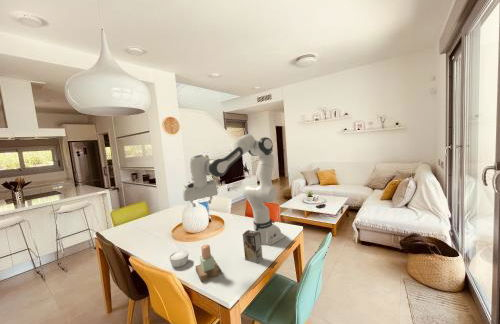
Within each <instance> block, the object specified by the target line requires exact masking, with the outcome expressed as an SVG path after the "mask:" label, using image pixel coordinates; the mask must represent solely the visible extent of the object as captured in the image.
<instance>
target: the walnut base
mask: <svg viewBox="0 0 500 324" xmlns="http://www.w3.org/2000/svg"><path fill="white" fill-rule="evenodd" d="M214 265H215V268H214V269H211V270H209V271H206V272H204V271H203V269H202V267H201V263H199V264H198V265H195V272H196V274H197V277H198V278H199V280H200V283H202V282H206V281H207V280H209V279H212V278H215V277H218V276H220V275H222V271H221V270H222V269H221V267H220V266H219V264H218V263H217V262H216V260H215V259H214Z"/></svg>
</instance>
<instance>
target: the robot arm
mask: <svg viewBox="0 0 500 324" xmlns="http://www.w3.org/2000/svg"><path fill="white" fill-rule="evenodd" d="M273 145H274V144H273V141H272V140H271V138H269V137H266V136H265V137H261V138H258V139H256V138H255V137H254V135H252V134H250V133H249V134H248V133H247V134H244V135H243V136H240V137H238V138H236V139H235V140H234V141H232V143H231V144H230V145H229V151H230V152H228V153H227V154H226V155H225V156H224V157H223V158H219V159H218V158H217V159H215V158H214V159H212V158H209V157H206V156H204V155H203V154H199V155H194V156H192V157H191V158H190V161H189V169H190V173H191V180H189V181H187V182H185V183H184V184H183V187H184V189H183V192H182V198H183V201H184V202H190V203H191V204H192V207H193V208H196V206H197V204H196V203H194V200H198V199H204V198H209V199H208V200H207V204H212V200H213V197H214V196H218V193H219V192H218V187H217V186H218V182H217V181H216V180H215V179H213V180H209V181H208V178H207V177H208V176H207V175H210V176H214V177H217V178H219V177H220V178H221V177H223V176H224V175H225V174H226V173H227V172H228V171H229V169H230V167H231V166H233V164H235V162H237V161H238V160H239V159H240V158H241V157H243V156H244V155H245V154H246V153H248V154H249V155H250V156H253V157H258V164H257V168H256V170H255V171H256V173H255V178H256V179H258V181H259V184H250V185H249V184H248V185H245V187H244V189H243V193H242V195H243V197H244V198H245V199H246V200H247V201H248V203H249V204H250V207H251V210H252V215H253V229H254V230H253V231H255V232H260V236H261V245H267V246H271V245H273V244H275V243H277V242H279V241H281V240H284V239H285V237H286V236H285V234H284V233H283V232H282V231H281V229H280V227H279V226H277V225H276V224H275V223H276V220H275V219H271V218H270V209H269V207H268V206H266V204H265V203H274V202H275V200H276V199H277V197H278V192H277V189H276V188H275V187H274V186H273V182H272V176H273V171H274V170H273V169H274V166H275V165H274V163H275V156H274V154H273V153H272V152H274V151H273V147H274V146H273Z"/></svg>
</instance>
